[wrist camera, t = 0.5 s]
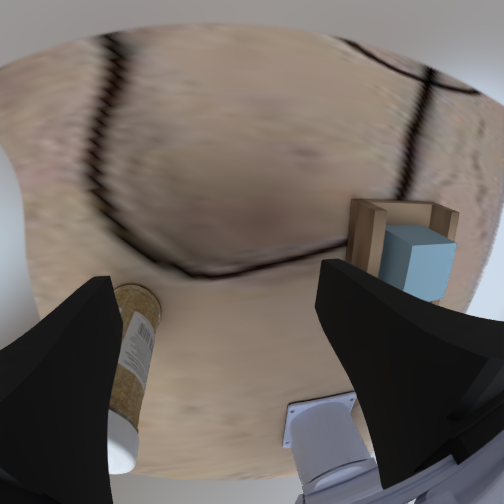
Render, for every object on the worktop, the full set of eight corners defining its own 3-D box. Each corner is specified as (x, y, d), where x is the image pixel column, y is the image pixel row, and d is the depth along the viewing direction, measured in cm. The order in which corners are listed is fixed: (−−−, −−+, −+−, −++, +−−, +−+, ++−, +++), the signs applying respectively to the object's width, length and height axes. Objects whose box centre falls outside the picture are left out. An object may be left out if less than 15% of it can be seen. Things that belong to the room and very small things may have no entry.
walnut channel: (408, 319, 26) (427, 338, 23) (334, 333, 25) (349, 357, 22) (433, 202, 22) (459, 212, 18) (351, 199, 21) (375, 210, 17)
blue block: (412, 274, 23) (442, 298, 19) (370, 279, 22) (399, 307, 18) (421, 224, 21) (456, 243, 17) (378, 225, 21) (412, 245, 16)
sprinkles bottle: (106, 279, 20) (30, 417, 8) (163, 286, 21) (126, 442, 9) (111, 328, 22) (61, 464, 9) (162, 334, 23) (141, 483, 10)
